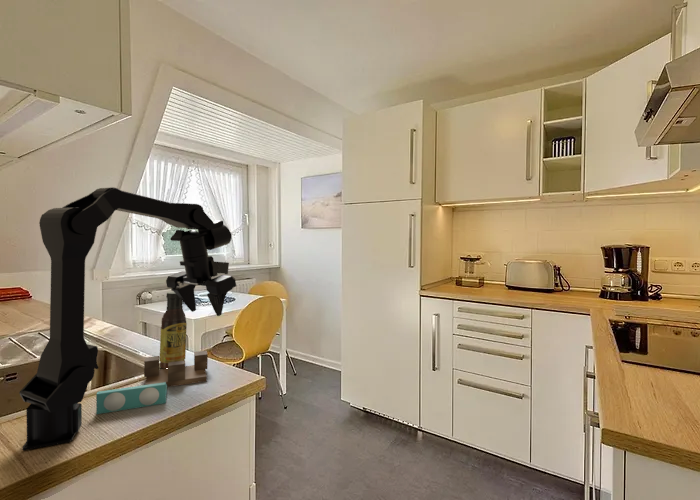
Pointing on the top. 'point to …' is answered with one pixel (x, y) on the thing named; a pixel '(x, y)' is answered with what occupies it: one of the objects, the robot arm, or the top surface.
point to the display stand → (176, 371)
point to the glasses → (130, 397)
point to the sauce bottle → (173, 332)
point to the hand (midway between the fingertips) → (206, 313)
